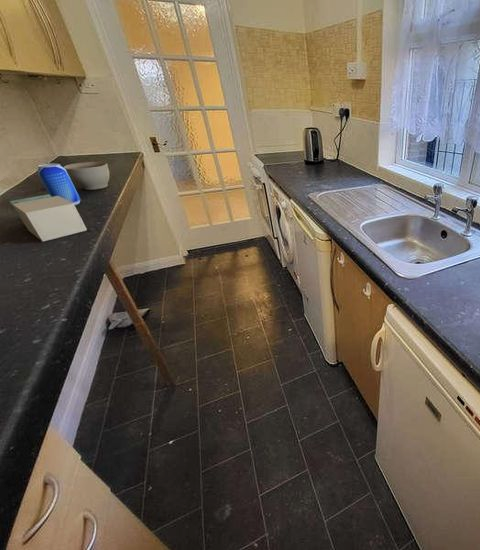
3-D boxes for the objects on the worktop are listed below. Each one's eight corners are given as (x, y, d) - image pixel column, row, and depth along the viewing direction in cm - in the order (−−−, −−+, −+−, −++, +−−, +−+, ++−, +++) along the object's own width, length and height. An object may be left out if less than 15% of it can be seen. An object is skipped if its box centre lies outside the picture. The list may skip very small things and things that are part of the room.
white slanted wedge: (29, 231, 101) (12, 203, 96) (71, 221, 109) (58, 195, 104) (42, 241, 94) (25, 213, 89) (87, 230, 103) (73, 203, 98)
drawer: (18, 219, 108) (5, 198, 104) (55, 211, 115) (44, 191, 111) (33, 231, 99) (20, 208, 95) (73, 222, 107) (61, 200, 102)
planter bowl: (72, 193, 138) (60, 169, 133) (78, 186, 150) (67, 163, 144) (114, 189, 146) (104, 166, 140) (117, 182, 157) (108, 160, 152)
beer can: (57, 208, 120) (34, 168, 112) (54, 204, 125) (32, 165, 117) (83, 204, 126) (64, 165, 117) (80, 200, 130) (61, 162, 122)
